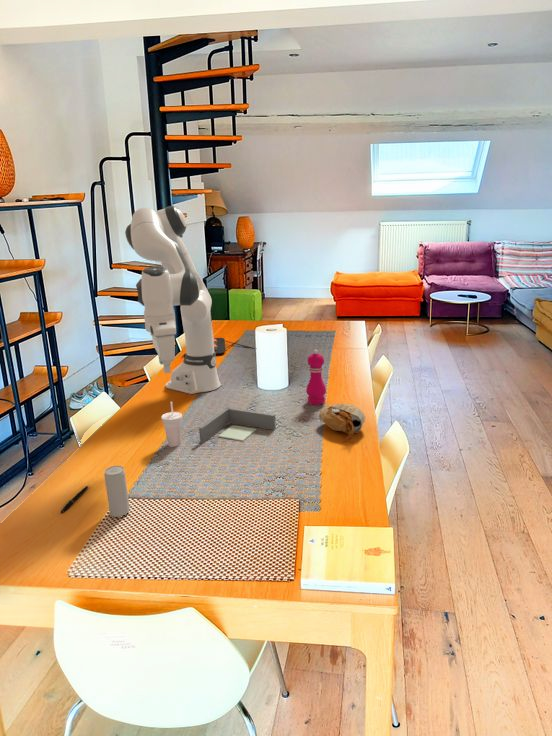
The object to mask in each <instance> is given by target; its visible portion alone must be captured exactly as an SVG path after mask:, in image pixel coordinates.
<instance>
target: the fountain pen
mask: <svg viewBox="0 0 552 736" xmlns="http://www.w3.org/2000/svg"><path fill="white" fill-rule="evenodd" d="M90 485H91V484H90V483H89V484H88V485H85V486H84V487H83V488H82V489H81V490H80V491H79V492H77V494H75V496H73V497H72V498H71V499H68V500H67V501H66V503H64V505H63V506H62V507H61V508H60V514H63V513H65V512H67V510H68V509H70V508H71V507H72V506H73V504H75V503H76V502H77V500H79V499H80V498H81V497H82V495H83V494H84V493H85V492H86V491H87V490H88V489H89V487H90Z"/></svg>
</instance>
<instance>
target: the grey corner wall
mask: <svg viewBox="0 0 552 736" xmlns="http://www.w3.org/2000/svg"><path fill="white" fill-rule="evenodd" d="M276 420H277V419H276V414H275V413H268V412H261V411H254V410H249V409H248V410H247V409H241V408H235V407H226V408H224V409H223V410H222V411H220V412H219V413H218V414H216V415H215V416H213V417H212V418H210V420H207V421H206V422H205V423H204V424H202V425H201V426H199V427H198V431H199V442H200V443H202V444H203V443H205V442H207V441H208V440H209V439H210V438H211V437H213V436H214V435H215V434H217V433H219V431H221V430H222V429H223V428H225V427H226V426H227V425H228V424H232V425H231V426H229V427H228V428H226V429H225V430H224V431H223V432H221V433H220V434H219V435H218V438H222V439H229V440H235V441H239V442H240V441H241V442H245V440H247V439H248V438H249V437H250V436H251V435H253V433H255V432H256V431H257V429H256V428H259V429H260V428H261V429H267V430H273V431H275V430H276V428H277V425H276ZM233 424H236V425H233ZM238 425H239V426H238ZM240 425H241V426H240ZM247 426H248V427H247ZM251 427H255V428H251Z"/></svg>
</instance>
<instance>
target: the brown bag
mask: <svg viewBox="0 0 552 736" xmlns="http://www.w3.org/2000/svg"><path fill="white" fill-rule="evenodd" d="M318 418H319V421H321V422H322V423H324V425H326V426H327V427H329V428H330V429H331V430H333V431H336V432H343V433H346V434H347V435H348V436H347V437H346V439H345V440H344V442H345V443H346V442H348V441H349V440H350V439H351V441H350V443H353V442H354V440H355V439H354V433H359V432H360V431H361V429H362V428H363V424H364V423H365V422H366V415H365V414H364V412H363V411H362V410H361V408H359V407H358V406H356V405H353V404H349V403H334V404H331V405H330V404H329V405H326V406H324V407H323V408H322V409H321V410H320V411H319V413H318Z"/></svg>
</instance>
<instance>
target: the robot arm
mask: <svg viewBox="0 0 552 736" xmlns="http://www.w3.org/2000/svg"><path fill="white" fill-rule="evenodd" d="M186 229H187V221H186V217H185V215H184V213H183V212H182V210H180V209H179V208H178V207H177V206H175V205H169V206H166V207H165V208H162V209H159V210H154V209H152V208H150V207H142V208H138V209H136V211H134V212H133V214H132V216H131V222H130V223H129V225H127V226H126V229H125V232H124V233H125V238H126V241H127V243H128V245H129V246H130V247H131V249H132V250H134V252H135V253H136V254H137V255H138V256H139V257H140V258H142V259H145V260H147V261H152V262H160V264H161V265H157V266H155V265H154V266H149V267H146V268H144V269H142V271H141V278H140V279H139V280H138V281H137V283H136V284H135V286H136V291H137V299H138V300H137V303H139V304H140V305H141V306H143V307H144V311H143V316H144V317H143V318H144V326H145V327H144V329H145V331H146V332H147V333H148V332H149V334H150V336H151V338H152V339H151V340H152V346H153V347H154V349H155V352H156V353H157V356H158V363H159V364H160V365H163V372H164V374H170V373H171V374H170V380H169V381H168V382H166V383H165V389H169V390H174V391H178V392H182V393H184V394H185V393H186V394H188V395H193V394H194V395H195V394H197V393H204V392H210V391H211V392H212V391H214V390H218V389H219V388H220V387H221V385H222V384H221V382H220V379H219V375H218V374H219V373H218V369H217V356H216V355H217V354H216V353H215V351H214V340H213V338H214V331H213V324H212V314H211V309H212V304H213V303H212V302H213V300H212V297H211V295H210V294H211V293H209V291H208V289H207V287H206V284H205V283H204V281H203V280H202V277H201V276H200V274H199V273H198V270H197V269H196V266H195V264H194V262H193V259H192V258H191V257H192V256H191V255H190V253H189V251H188V249H187V246H186V245H185V243H184V241H183V240H182V238H183V235H184V233H185V232H186ZM175 306H180V314H181V321H182V327H183V333H184V339H185V351H186V352H185V353H184V354H182V355H181V356H180V357H181V358H180V359H183V361H182V362H181V363H180V364H179V365H178V366H176V367H175V368H174V369H173V370H172V369H171V364H172V362H174V361H175V357H176V350H175V349H176V346H175V345H176V342H175V339H176V338H175V335H176V334H177V323H176V321H177V320H176V312H175V308H174V307H175ZM171 371H172V372H171Z"/></svg>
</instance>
